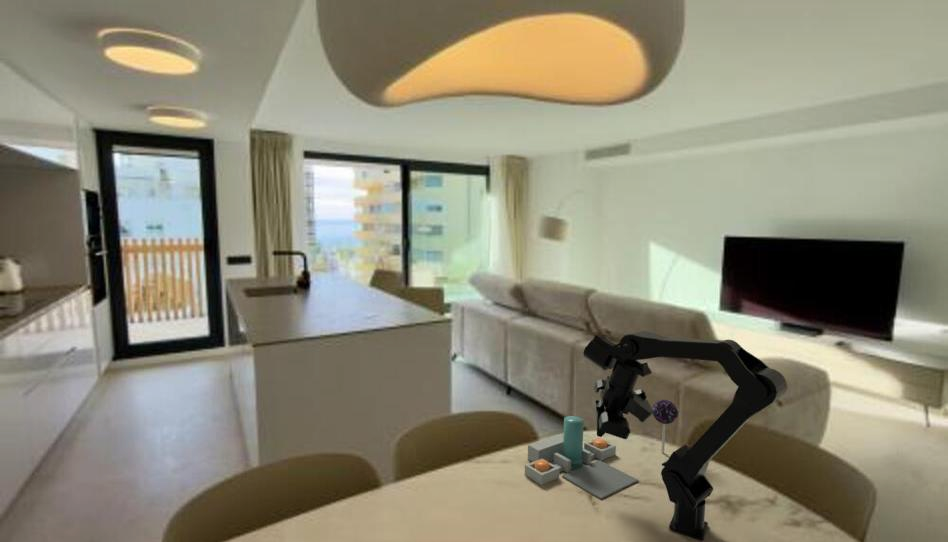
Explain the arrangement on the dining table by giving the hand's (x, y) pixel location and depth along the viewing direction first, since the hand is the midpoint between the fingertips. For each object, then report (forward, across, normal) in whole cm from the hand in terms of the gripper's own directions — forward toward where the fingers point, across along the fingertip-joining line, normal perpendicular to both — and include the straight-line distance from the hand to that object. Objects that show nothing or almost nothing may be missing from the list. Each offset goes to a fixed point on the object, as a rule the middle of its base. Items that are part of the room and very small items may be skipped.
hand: (598, 435), depth 112 cm
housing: (+16, +8, +3) cm, 18 cm away
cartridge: (+15, +6, +2) cm, 16 cm away
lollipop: (+11, +17, -23) cm, 31 cm away
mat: (+12, 0, -4) cm, 12 cm away
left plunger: (+15, -2, +10) cm, 18 cm away
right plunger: (+14, +14, -6) cm, 20 cm away
